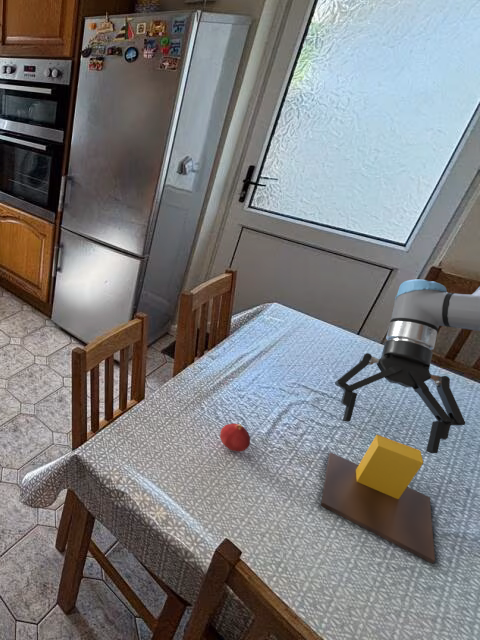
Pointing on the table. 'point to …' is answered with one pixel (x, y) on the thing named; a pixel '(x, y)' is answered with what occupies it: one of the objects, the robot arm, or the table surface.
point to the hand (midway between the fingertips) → (387, 436)
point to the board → (379, 509)
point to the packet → (388, 466)
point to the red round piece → (235, 437)
